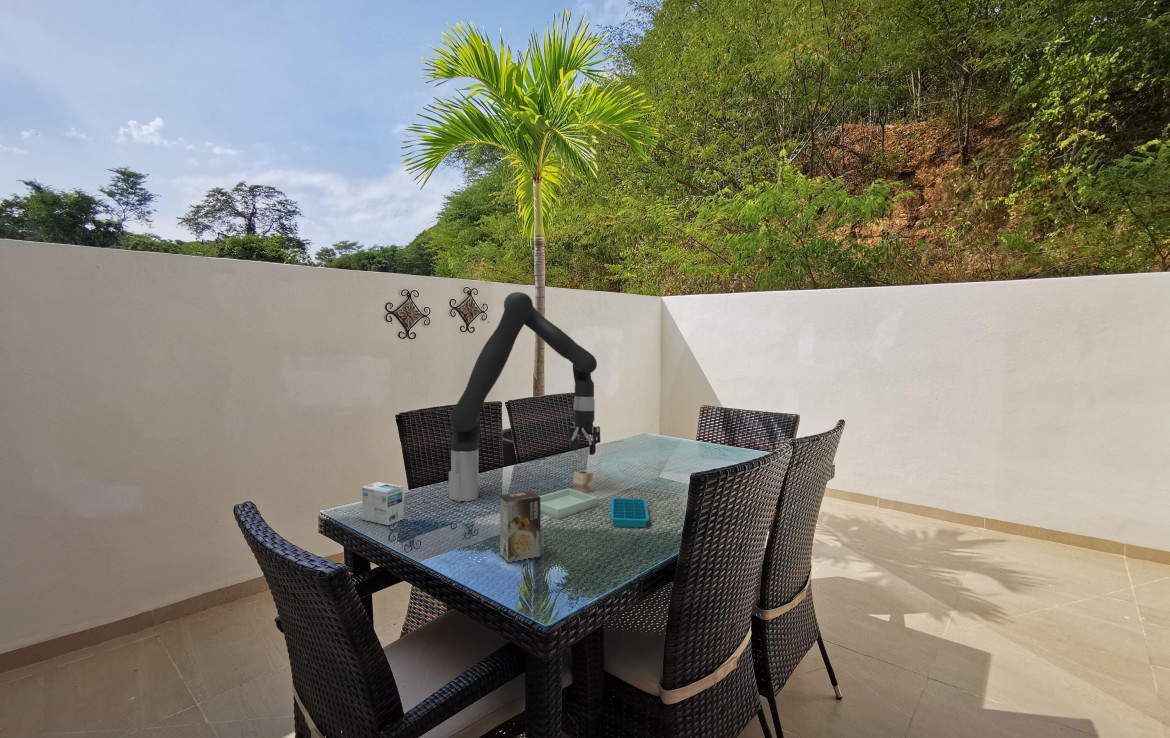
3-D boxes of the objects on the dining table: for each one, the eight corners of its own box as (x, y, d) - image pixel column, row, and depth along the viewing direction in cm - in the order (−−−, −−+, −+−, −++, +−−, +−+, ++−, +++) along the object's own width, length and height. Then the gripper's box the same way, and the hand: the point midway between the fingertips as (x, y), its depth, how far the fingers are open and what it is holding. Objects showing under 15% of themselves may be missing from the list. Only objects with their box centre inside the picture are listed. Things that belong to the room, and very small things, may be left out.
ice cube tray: (645, 507, 178) (645, 498, 178) (649, 530, 158) (649, 520, 158) (611, 506, 179) (611, 497, 178) (610, 528, 159) (610, 518, 158)
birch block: (582, 494, 190) (583, 474, 189) (573, 491, 193) (573, 472, 193) (592, 491, 193) (592, 472, 193) (582, 488, 197) (583, 469, 196)
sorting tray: (557, 519, 164) (557, 509, 164) (529, 507, 174) (529, 499, 174) (597, 506, 177) (597, 497, 177) (568, 496, 187) (568, 488, 187)
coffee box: (531, 548, 143) (532, 489, 141) (541, 557, 137) (541, 496, 136) (499, 554, 138) (499, 494, 137) (507, 564, 133) (507, 501, 131)
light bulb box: (404, 519, 162) (404, 485, 161) (388, 527, 156) (387, 491, 155) (378, 514, 166) (378, 480, 165) (361, 521, 160) (361, 486, 159)
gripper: (563, 407, 193) (562, 450, 195) (591, 411, 183) (590, 457, 185) (577, 405, 199) (577, 447, 200) (605, 409, 189) (605, 454, 190)
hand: (583, 452), depth 192 cm, fingers open, 8 cm apart
